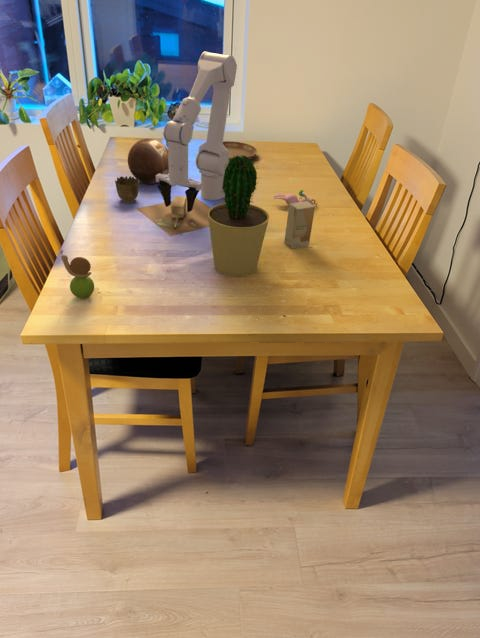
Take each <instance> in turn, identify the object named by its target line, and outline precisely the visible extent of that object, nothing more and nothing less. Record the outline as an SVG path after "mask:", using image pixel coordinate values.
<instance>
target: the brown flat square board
mask: <svg viewBox="0 0 480 638" xmlns="http://www.w3.org/2000/svg"><path fill="white" fill-rule="evenodd" d="M172 202H173V200H171V205H172ZM171 205H169V206H168V207H166V206H165V202H162V203H157V204H152V205H146V206H142V207H136V209H137V210H138V211H139V212H140V213H142V214H143V216H145V217H146V218H148V219H149V220H150V221H151V222H153V223H154V224H155V225H156V226H157V227H159V229H161V230H163V231H164V232H165V233H166V234H168V235H169V236H170V237H172V236H177V235H180V234H185V233H188V232H189V233H190V232H193V231H197V230H201V229H206V228H209V220H208V211H209V210H210V209H211V208H212V207H211V206H209V205H207V204H206V203H205V202H203V201H201V200H200V199H199V198H197V197H196V199H195V201H194V205H193V209H192V211H190V212H188V211H187V197H186V210H185V211H186V215H185V216H184V218H178V222H177V226H176V228H174V224H175V221H176V218H174V217H172V216H171Z"/></svg>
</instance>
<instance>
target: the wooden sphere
mask: <svg viewBox="0 0 480 638" xmlns="http://www.w3.org/2000/svg"><path fill="white" fill-rule="evenodd" d="M127 167H128V169H129V171H130V173H131V175H132V177H134V178H137V179H139V182H142V183H143V184H147V185H154V184H157V183H158V184H159V182H156V175H157V174H166V175H169V164H168V147H167V146H166V144H163V142H161V141H159V140H157V139H154V138H144V139H139V140H138V141H137V142H136V143H134V144H133V145H132V146H131V147H130V149H129V152H128V155H127Z"/></svg>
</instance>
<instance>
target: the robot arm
mask: <svg viewBox="0 0 480 638" xmlns="http://www.w3.org/2000/svg"><path fill="white" fill-rule="evenodd" d="M237 67H238V64H237V62H236V60H235V57H234V56H233V55H231V54H228V55H226V54H222V53H221V54H220V53H214V52H209V51H203V52H202V53H201V55H200V57H199V59H198V62H197V71H198V73H197V75H196V78H195V81H194V82H193V86H192V87H191V88H192V89H191V91H190V93H189V95H188V97H185V98H183V99H182V101H181V102H180V105H179V106H178V109H177V110H176V112H175V113H174V114H175V115H174V116H173V118H172V119H171V120H170V121H168V122H167V123H165V125H164V128H163V132H162V134H163V138H164V140H165V147H166V148H167V149H168V164H169V174H168V175H166V174H157V175H156V182H158V184H157V185H156V187H157V189H158V190H159V192H160V194H161V196H162V199H163V203H165V206H166V207H168V206H169V205H171V201H172V194H171V193H172V186H175V187H176V186H180V187H183V188H188V189H186V190H185V191H184V193H185V197H186V198H187V211H188V212H190V211H192V209H193V205H194V201H195V199H196V198H197V196H198V195H199V192H200V196H201V198H202V199H203V200H208V201H217V200H221V199H225V197H223V196H225V193H224V191H223V193H224V194H223V193H222V190H223V189H222V187H221V186H223V178H224V176H221V175H224V174H225V171H222V170H225V169H226V167H227V166H225V165H226V164H227V165H228V162H229V151H228V150H227V148H226V147H225V146H224V145H223V142H224V136H225V131H226V123H227V119H228V118H227V116H228V110H229V106H230V105H229V104H230V97H231V91H232V88H233V87H234V86H235V82H236V74H237V69H238V68H237ZM211 85H212V87H213V92H212V100H211V107H210V114H209V121H208V128H207V135H206V136H207V137H206V141H205V142H203V143H202V144H201V145H199V147H198V152H197V154H196V156H195V165H196V168H197V169H198V172H199V174H200V181H197V180H195V179H192V178H191V177H189V143H191V140H192V139H193V132H194V128H195V127H194V124H195V122H196V121H197V119H198V116H199V114H200V113H201V110H202V108H201V105H200V104H201V102H202V101H203V99H204V97H205V96H206V94H207V93H208V91H209V89H210V88H211ZM208 151H212V152H216V153H218V154H216V153H212V152H208ZM223 162H224V163H223ZM222 164H223V165H222ZM223 166H224V167H223ZM224 168H225V169H224ZM222 177H223V178H222ZM219 191H220V192H219Z"/></svg>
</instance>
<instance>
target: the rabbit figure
mask: <svg viewBox="0 0 480 638" xmlns="http://www.w3.org/2000/svg"><path fill="white" fill-rule="evenodd" d="M303 192H304V189H301V190H299V191H298V195H299V196H300V198H298V197H297V195H296V194H293V193H289V194H284V193H277V194H275V195H273V197H272V198H273V200H277V199H279V200H283V201H285V203H286V204H287V205H289V204H290V203H297V202H305V201H308V202H309V203H311V204H312V205H315V208H317V207H318V202H316V201H317V199H314V198H310V197H307V196H306V194H305V193H303ZM303 198H304V199H303Z"/></svg>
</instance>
